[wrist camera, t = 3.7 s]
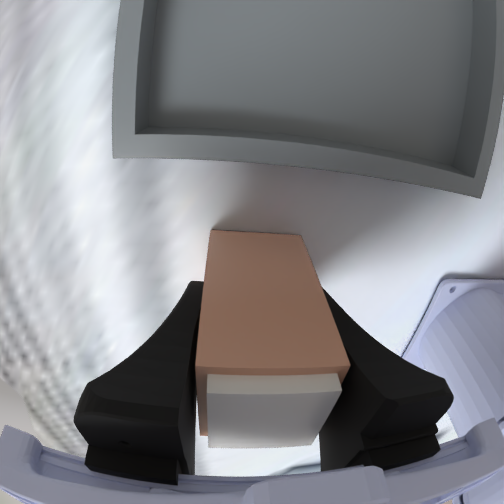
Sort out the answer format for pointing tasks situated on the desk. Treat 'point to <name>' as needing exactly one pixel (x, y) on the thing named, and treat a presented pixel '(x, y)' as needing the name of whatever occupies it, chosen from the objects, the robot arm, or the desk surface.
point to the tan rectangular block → (265, 344)
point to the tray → (314, 85)
